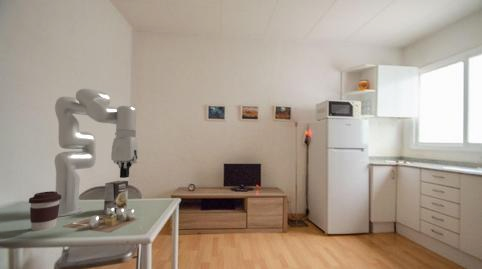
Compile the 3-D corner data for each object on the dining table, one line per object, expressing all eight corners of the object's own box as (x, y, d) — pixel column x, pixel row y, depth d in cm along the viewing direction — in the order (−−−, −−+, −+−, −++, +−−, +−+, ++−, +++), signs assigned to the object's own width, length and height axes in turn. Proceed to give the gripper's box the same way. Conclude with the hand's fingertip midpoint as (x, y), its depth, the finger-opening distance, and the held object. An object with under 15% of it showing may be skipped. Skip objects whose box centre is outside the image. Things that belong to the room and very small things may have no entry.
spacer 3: (114, 219, 95) (114, 209, 95) (120, 217, 98) (120, 207, 98) (120, 220, 94) (120, 210, 95) (125, 217, 97) (126, 208, 98)
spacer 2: (104, 218, 96) (104, 208, 97) (110, 216, 99) (110, 206, 100) (110, 219, 96) (110, 209, 96) (116, 217, 99) (116, 207, 99)
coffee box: (114, 216, 103) (115, 183, 104) (103, 215, 104) (104, 182, 105) (127, 211, 112) (128, 180, 113) (117, 210, 113) (118, 180, 114)
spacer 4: (124, 220, 94) (124, 210, 94) (129, 218, 97) (130, 208, 97) (130, 221, 93) (130, 211, 93) (135, 218, 96) (136, 208, 96)
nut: (100, 224, 89) (101, 219, 89) (111, 220, 93) (111, 215, 94) (109, 225, 87) (109, 220, 88) (119, 221, 92) (119, 216, 93)
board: (62, 229, 87) (62, 226, 87) (97, 217, 102) (97, 214, 102) (109, 235, 81) (109, 231, 81) (139, 221, 96) (139, 218, 96)
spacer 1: (87, 229, 84) (87, 217, 84) (94, 226, 87) (95, 215, 88) (93, 229, 83) (94, 218, 84) (100, 226, 86) (101, 215, 87)
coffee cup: (65, 226, 90) (67, 191, 91) (39, 235, 80) (41, 196, 81) (48, 224, 92) (50, 189, 93) (20, 233, 83) (22, 194, 84)
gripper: (104, 134, 89) (102, 178, 88) (134, 134, 86) (132, 179, 85) (118, 135, 97) (117, 175, 96) (146, 135, 93) (145, 176, 92)
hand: (124, 177), depth 90 cm, fingers closed
